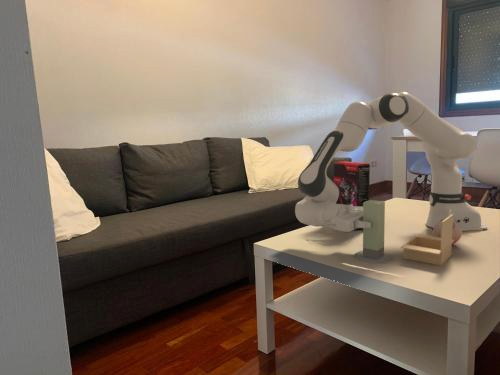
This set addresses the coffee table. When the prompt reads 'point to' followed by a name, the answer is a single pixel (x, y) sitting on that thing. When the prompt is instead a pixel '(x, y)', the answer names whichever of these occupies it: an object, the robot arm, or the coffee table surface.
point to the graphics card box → (352, 182)
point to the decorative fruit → (455, 233)
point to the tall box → (374, 229)
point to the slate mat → (383, 259)
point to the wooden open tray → (431, 245)
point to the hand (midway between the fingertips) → (376, 222)
